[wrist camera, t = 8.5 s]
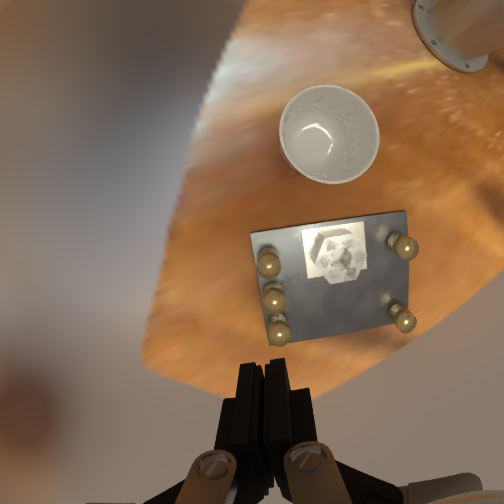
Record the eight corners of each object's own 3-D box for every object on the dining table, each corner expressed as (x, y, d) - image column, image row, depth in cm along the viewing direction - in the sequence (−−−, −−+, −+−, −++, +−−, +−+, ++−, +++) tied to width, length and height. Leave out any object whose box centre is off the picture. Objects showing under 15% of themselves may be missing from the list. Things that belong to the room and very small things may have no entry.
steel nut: (307, 235, 33) (311, 240, 30) (358, 226, 32) (365, 231, 30) (313, 278, 34) (317, 286, 31) (362, 269, 33) (369, 276, 31)
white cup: (342, 108, 30) (372, 84, 20) (350, 178, 32) (384, 181, 22) (270, 111, 30) (273, 86, 20) (278, 183, 32) (285, 188, 22)
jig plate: (250, 232, 33) (248, 240, 30) (404, 210, 32) (419, 215, 28) (269, 343, 37) (269, 361, 33) (405, 317, 35) (417, 332, 32)
